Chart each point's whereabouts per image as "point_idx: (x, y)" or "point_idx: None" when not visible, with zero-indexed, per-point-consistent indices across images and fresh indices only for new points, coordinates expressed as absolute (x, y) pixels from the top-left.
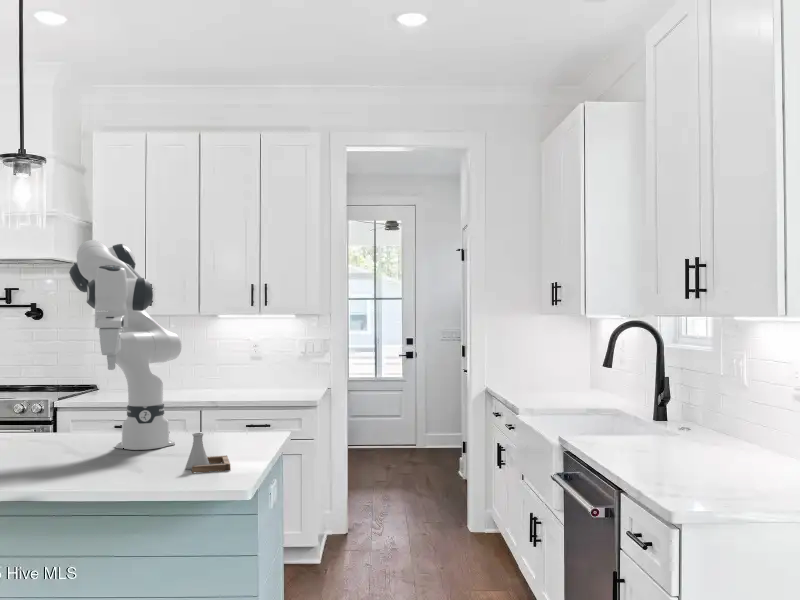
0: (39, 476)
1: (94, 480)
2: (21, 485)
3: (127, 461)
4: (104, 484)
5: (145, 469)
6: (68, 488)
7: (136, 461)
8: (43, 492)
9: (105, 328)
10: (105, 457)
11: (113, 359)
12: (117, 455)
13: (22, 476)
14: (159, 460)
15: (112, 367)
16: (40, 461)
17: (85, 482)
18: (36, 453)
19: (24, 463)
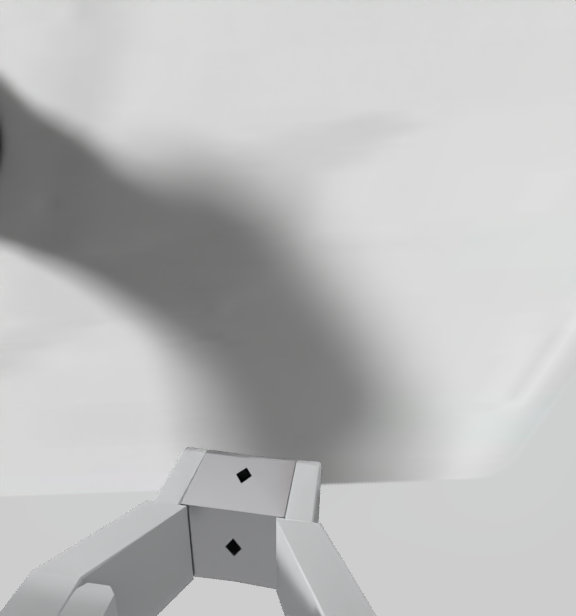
0: (329, 418)
1: (459, 276)
2: (428, 451)
3: (185, 181)
4: (541, 243)
5: (351, 107)
6: (539, 343)
7: (193, 148)
8: (554, 401)
9: None
10: (101, 257)
11: (358, 606)
12: (75, 219)
13: (311, 454)
14: (198, 55)
15: (318, 496)
16: (124, 423)
17: (476, 300)
18: (13, 436)
19: (142, 456)
